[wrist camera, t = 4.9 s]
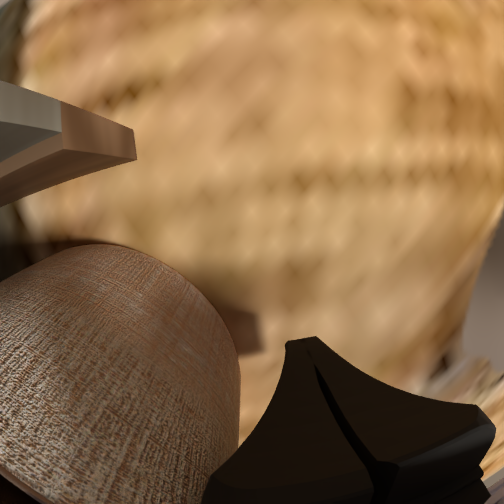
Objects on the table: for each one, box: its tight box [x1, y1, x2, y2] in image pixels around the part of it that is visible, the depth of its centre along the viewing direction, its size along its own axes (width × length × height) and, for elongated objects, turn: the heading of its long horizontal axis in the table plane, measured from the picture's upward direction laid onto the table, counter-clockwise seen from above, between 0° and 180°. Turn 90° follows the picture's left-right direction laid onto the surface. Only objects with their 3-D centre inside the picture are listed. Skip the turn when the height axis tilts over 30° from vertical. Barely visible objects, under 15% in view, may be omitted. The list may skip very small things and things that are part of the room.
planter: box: [0, 244, 241, 504], centre depth 7 cm, size 11×11×10 cm
